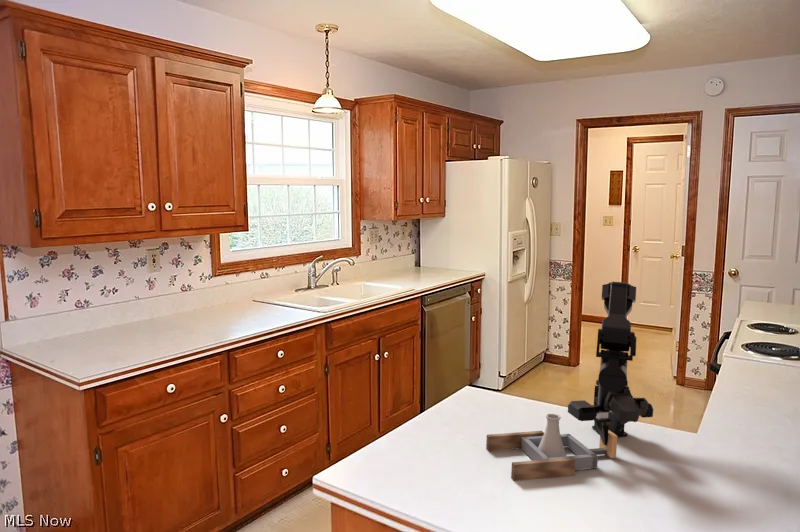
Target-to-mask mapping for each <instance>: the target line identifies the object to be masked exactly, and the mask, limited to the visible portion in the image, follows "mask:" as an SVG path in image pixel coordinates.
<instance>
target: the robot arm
mask: <svg viewBox="0 0 800 532" xmlns="http://www.w3.org/2000/svg"><path fill="white" fill-rule="evenodd" d="M601 287H602V288H601V301H604V302H603V307H604V310H605V312H606V314H607V317H605V318H604V319H602V321H601V328H598V329H597V342H596V353H595V357H596V358H600V367H599V370H598V371H599V373H598V379H596V380H595V381H596V382H595V385H594V392H593V393H594V394H593V404H591V403H589V402H588V401H586V400H570V402H568V406H567V413H568V414H570V415H571V416H572V417H573V418H575V419H577V421H581V422H589V421H593V422H594V424H593V425H592V426H591V429H593V430H594V431H596V432H597V433H598V434H599V438H600V437H601V440H602V442H603V444H604V445H607V442H608V430H610V431H611V432H613V433H614V434H615V435H617V437H627V436H628V435H629V433H628V432H627V431H625V426H626V425H625V424H627V423H629V422H633V423H637V422H639V418H640V417H641V418H653V416H654V408H653V407H654V406H653V405H652V404H651V403H650V402H649V401H648V400H647V399H646V397H634V396H633V395H632V393H631V389H630V386H628V383H629V381H628V361H629V362H633V361H634V360H633V358H634V357H636V355H637V352H636V351H637V336H636V333H635V332H634V331H632V323H631V321H630V320H629V319H628V318H627V317H628V316H629V314H630V313H632V310H633V303H634V304H635V303H636V299H637V286H635V285H634V286H633V285H632V284H631V283H628V282H624V281H611V282H608V283H606V284H602V286H601Z"/></svg>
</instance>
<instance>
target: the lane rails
mask: <svg viewBox="0 0 800 532" xmlns="http://www.w3.org/2000/svg"><path fill="white" fill-rule="evenodd" d="M544 433H545V431H542V430H535V431H534V430H533V431H519V432H508V433H507V432H505V433H493V434H486V441H485V442H486V444H485V446H486V447H485V449H486V451H487V452H492V451H494V452H495V451H505V450H506V451H508V450H518V449H520V450H522V448H521V437H532V436H543V435H544ZM510 470H511V472H510V474H511V475H510V479H511V480H512V482H516V481H517V482H518V481H525V480H526V481H527V480H537V479H548V478H560V477H561V478H562V477H573V476H575V474H576V473H575V471H576V470H575V459H574V458H573V457H570V458H558V459H547V460H535V461H534V460H525V461H523V460H522V461H515V462H513V461H512V462H511V469H510Z"/></svg>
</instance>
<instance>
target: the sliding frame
mask: <svg viewBox="0 0 800 532" xmlns="http://www.w3.org/2000/svg"><path fill="white" fill-rule="evenodd" d="M560 436H561V439H562V443H563V446H564V448H566V447H567V448H568V449H569V450H570V451H571V452H573V453H574V454H575V455H566V456H564V457H552V458H548V457H547V456H546V455H545V454H544V453H543V452H542V451H541V450H540V449H538V447H539V444H540V442H541V440H542V437H543V436H532V437H521V450H522V451H523V452H524V453H526V455H528V456H529V458H530V459H531V460H532V461H535V460H547V459H558V458H570V457H573V458H574V459H575V471H576V470H585V469H596V468H598V462H599V460H598V459H599V458H598V457H599V456H601V455H606V456H607V457H609V458H610V459H616V458H617V451H618V450H617V449H618V447H617V446H618V436H617V435H615V434H614V433H613V432H611V431H610V430H608V442H607V445H604V444H603V442H602V440H601V437H600V436H599V446H598V448H597V447H596V448H588V447H587V446H586V445H584V444H583V443H582V442H581V441H579V440H578V439H577V438H576V437H575V436H573V435H572V434H570V433H562V434H561V433H560Z"/></svg>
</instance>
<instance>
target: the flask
mask: <svg viewBox="0 0 800 532" xmlns="http://www.w3.org/2000/svg"><path fill="white" fill-rule="evenodd" d="M545 418H546V427H545V429H544V430H545V431H544V435H543V437H542V440H541V442H540V444H539V447H538V449H540V450H541V451H542V452H543V453H544V454H545V455H546V456H547V457H548V458H552V457H564V456H567V454H566V449H565V447H564V446H563V443H562V439H561V436H560V434H561V432H560V420H561V419H562V418H561V416H560V414H555V413H547V414H546V415H545Z"/></svg>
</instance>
